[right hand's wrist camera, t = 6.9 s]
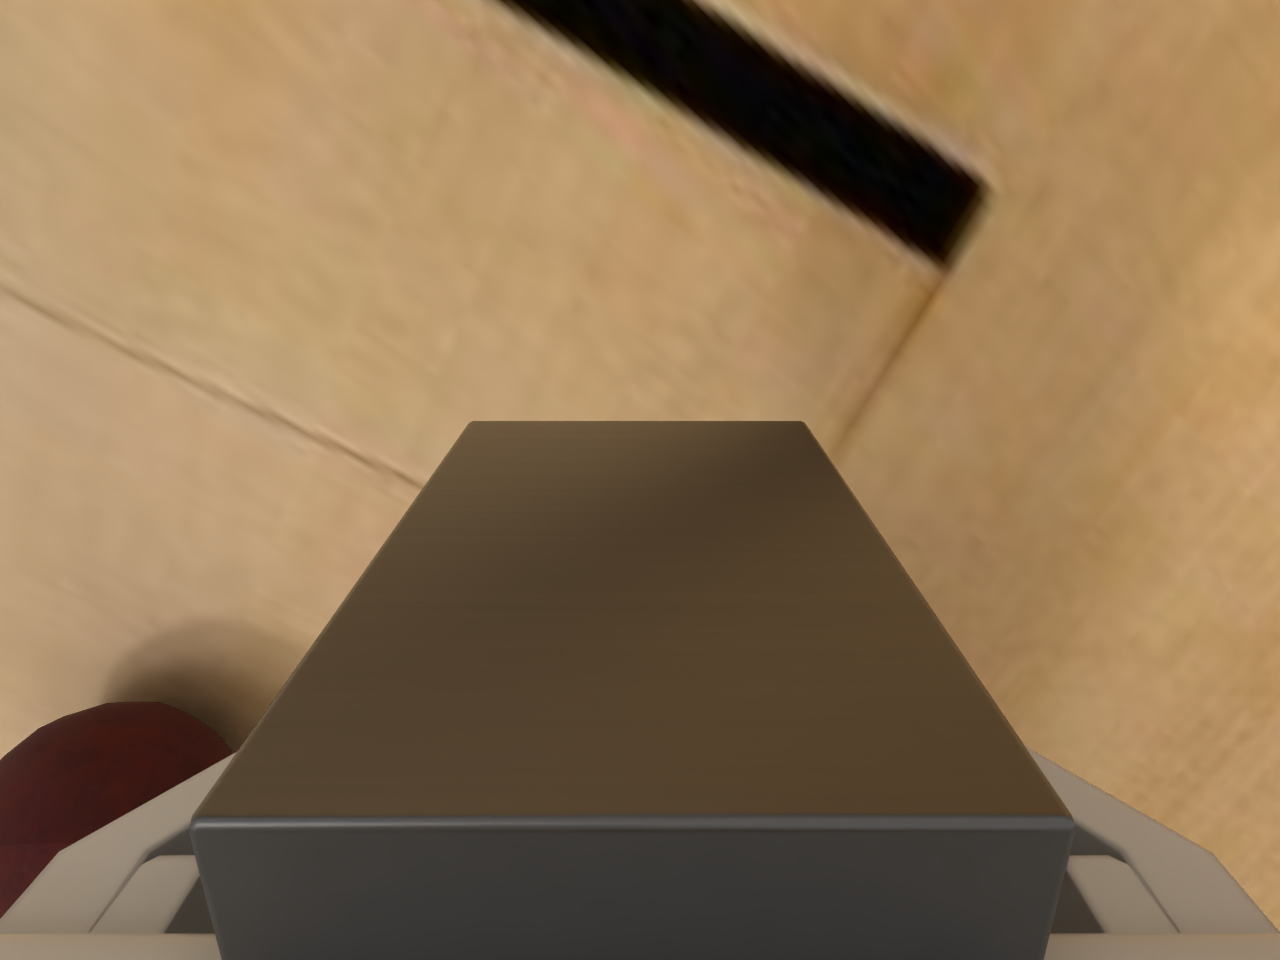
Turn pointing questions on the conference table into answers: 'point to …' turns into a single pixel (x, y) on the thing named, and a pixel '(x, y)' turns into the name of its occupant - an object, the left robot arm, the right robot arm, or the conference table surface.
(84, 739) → the dark maroon ball
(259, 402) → the conference table surface
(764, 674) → the bar
